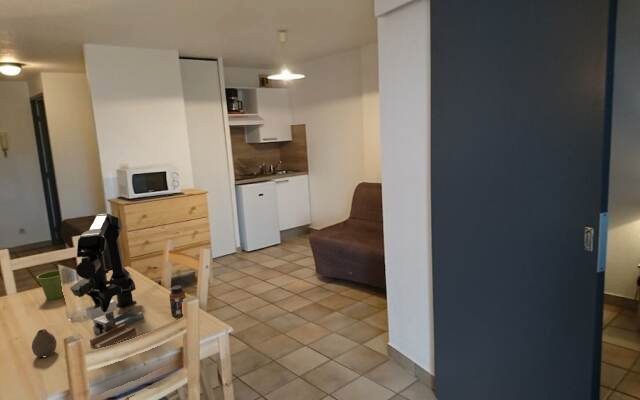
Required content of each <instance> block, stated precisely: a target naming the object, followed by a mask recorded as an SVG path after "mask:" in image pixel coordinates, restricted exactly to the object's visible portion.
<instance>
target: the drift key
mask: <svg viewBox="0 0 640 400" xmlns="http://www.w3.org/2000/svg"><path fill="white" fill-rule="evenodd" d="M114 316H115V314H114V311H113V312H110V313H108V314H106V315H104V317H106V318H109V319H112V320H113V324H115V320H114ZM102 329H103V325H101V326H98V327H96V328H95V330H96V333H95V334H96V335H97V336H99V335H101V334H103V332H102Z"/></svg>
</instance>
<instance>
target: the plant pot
mask: <svg viewBox="0 0 640 400" xmlns="http://www.w3.org/2000/svg"><path fill="white" fill-rule="evenodd" d="M59 270H60V269H59ZM59 270H58V269H57V270H51V271H46V272H44V273H41V274H39V275H37V276H36V279H37V280H38V282H39V283H40V286H41V287H42V290H43V293H44V296H45V299H46V300H57V299H60V298H62V297H64V296H63V292H62V286H61V280H60V274H59Z"/></svg>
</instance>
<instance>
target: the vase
mask: <svg viewBox="0 0 640 400" xmlns="http://www.w3.org/2000/svg"><path fill="white" fill-rule="evenodd" d="M56 349H57V339H56V337H55V336H54V335H53V334H52V333H51V332H49V331H48V330H47V329H46V328H45V329H44V328H43V329H39V330H38V331H37V333H36V335H35V337H34V338H33V339H32V342H31V350H32V353H33V355H34V356H36V357H37V358H39V357H43V356H48V355H50V356H52V355H53V354H54V353H55V351H56ZM52 353H53V354H52ZM51 354H52V355H51ZM48 357H49V356H48Z"/></svg>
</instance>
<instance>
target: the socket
mask: <svg viewBox="0 0 640 400" xmlns="http://www.w3.org/2000/svg"><path fill="white" fill-rule="evenodd" d="M143 319H145V316H144V312H142V311H139V312H137V313H135V309H133V308H131V309H127V310H126V311H124V312H122V313H119V314H117V315H114V320H115V324H113V320H112V319H109V318H106V316H104V315H103V316H101V317H98V318H96V319H93V320H92V322H93V326H92V328H93V332H94V333H95V334H96V330H95V328H96V327H98V326H101V325H103V329H102V332H103V333H105V332H107V331H109V330H112V329H114V328H116V327H118V326H120V325H122V324H126V327H129V326H130V325H133V324H135V323H137V322H139V321H141V320H143Z"/></svg>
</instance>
